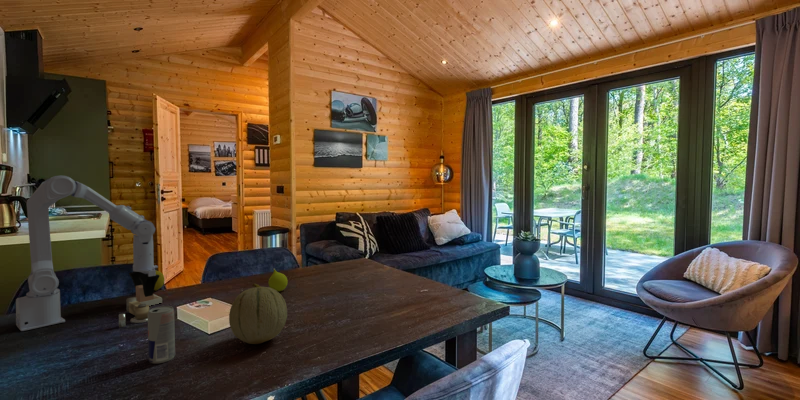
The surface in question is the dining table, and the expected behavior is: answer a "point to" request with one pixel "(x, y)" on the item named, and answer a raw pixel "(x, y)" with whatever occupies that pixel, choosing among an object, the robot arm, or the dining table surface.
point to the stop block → (142, 294)
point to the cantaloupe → (257, 314)
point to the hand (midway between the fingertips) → (144, 293)
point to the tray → (153, 301)
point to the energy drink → (161, 334)
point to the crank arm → (137, 308)
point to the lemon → (159, 281)
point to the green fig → (278, 281)
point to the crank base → (123, 320)
